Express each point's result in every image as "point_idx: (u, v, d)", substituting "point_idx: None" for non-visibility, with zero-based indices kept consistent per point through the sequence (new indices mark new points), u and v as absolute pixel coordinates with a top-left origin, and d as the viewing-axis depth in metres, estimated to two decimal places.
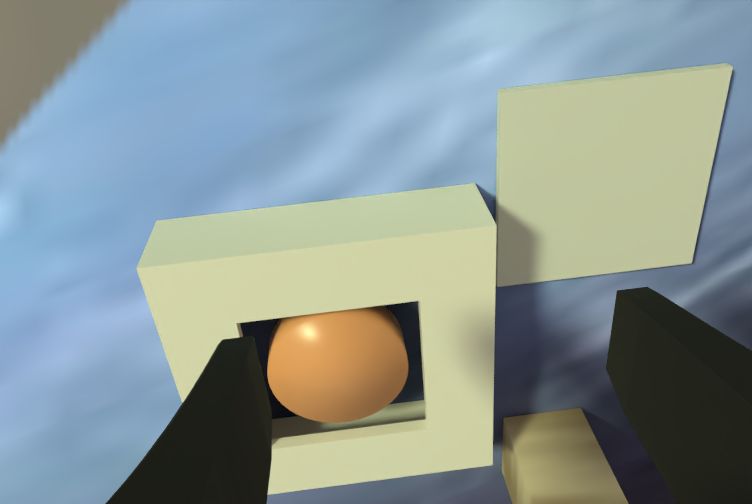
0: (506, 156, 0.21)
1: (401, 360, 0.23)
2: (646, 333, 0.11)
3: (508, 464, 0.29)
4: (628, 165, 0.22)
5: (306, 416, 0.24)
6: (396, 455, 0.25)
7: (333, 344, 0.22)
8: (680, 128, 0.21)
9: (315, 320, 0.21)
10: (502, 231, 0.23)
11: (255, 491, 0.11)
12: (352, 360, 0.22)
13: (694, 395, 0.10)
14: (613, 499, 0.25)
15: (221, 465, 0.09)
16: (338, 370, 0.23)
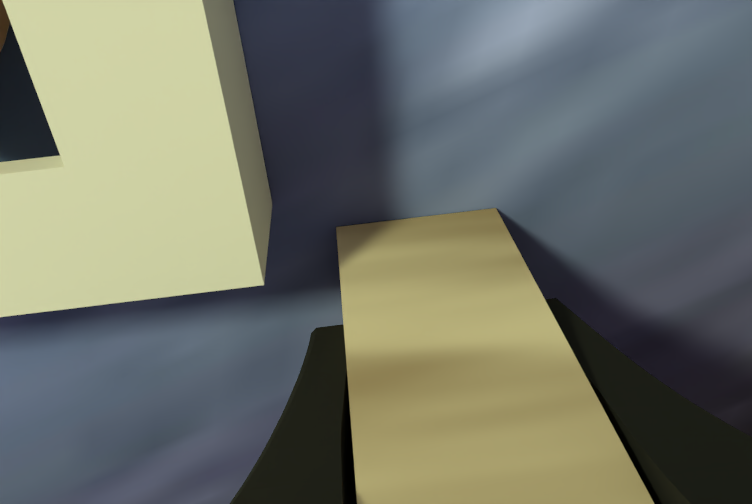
0: None
1: None
2: None
3: None
4: None
5: None
6: (11, 248, 0.10)
7: None
8: None
9: None
10: None
11: None
12: None
13: None
14: (542, 354, 0.10)
15: (343, 449, 0.09)
16: None
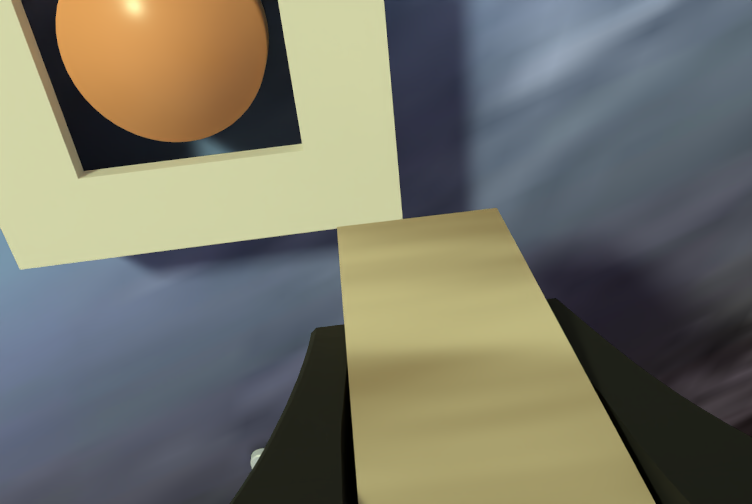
0: None
1: (253, 27, 0.16)
2: None
3: None
4: None
5: (129, 128, 0.17)
6: (265, 197, 0.18)
7: None
8: None
9: None
10: None
11: None
12: (181, 23, 0.16)
13: None
14: (543, 354, 0.10)
15: (343, 449, 0.09)
16: (163, 41, 0.16)
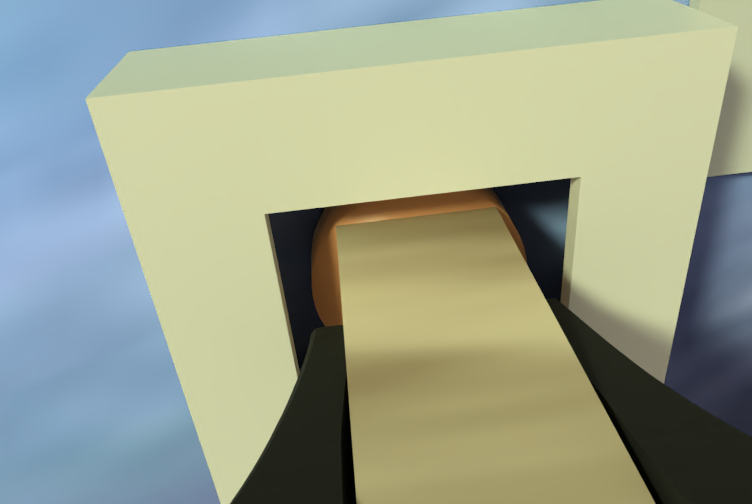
0: None
1: None
2: None
3: None
4: None
5: None
6: None
7: None
8: None
9: None
10: None
11: None
12: None
13: None
14: (542, 353, 0.10)
15: (344, 449, 0.09)
16: None
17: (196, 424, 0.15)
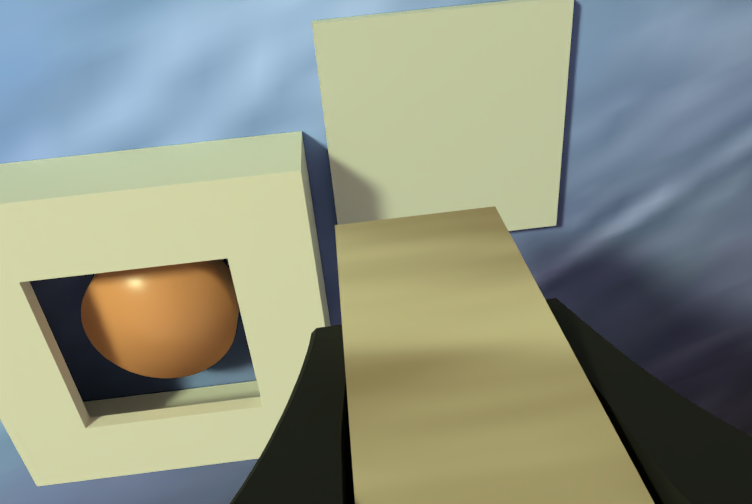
0: (329, 98, 0.19)
1: (226, 309, 0.21)
2: None
3: None
4: (469, 111, 0.20)
5: (133, 370, 0.22)
6: (233, 436, 0.22)
7: (149, 290, 0.21)
8: (523, 68, 0.19)
9: None
10: (337, 186, 0.21)
11: None
12: (173, 308, 0.21)
13: None
14: (541, 352, 0.10)
15: (344, 449, 0.09)
16: (159, 319, 0.21)
17: (1, 419, 0.21)
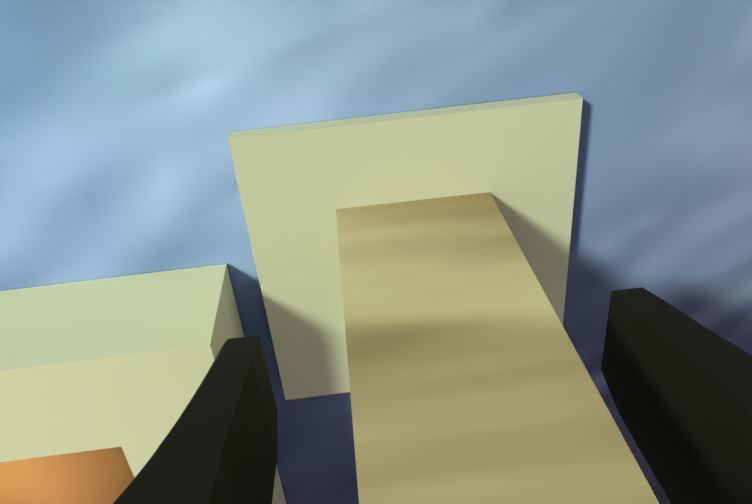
0: (258, 228, 0.14)
1: None
2: (640, 334, 0.11)
3: None
4: None
5: None
6: None
7: (34, 464, 0.16)
8: (515, 187, 0.14)
9: None
10: (276, 329, 0.16)
11: (261, 490, 0.11)
12: (68, 482, 0.16)
13: (688, 396, 0.10)
14: (531, 324, 0.10)
15: (228, 464, 0.09)
16: (52, 494, 0.17)
17: None
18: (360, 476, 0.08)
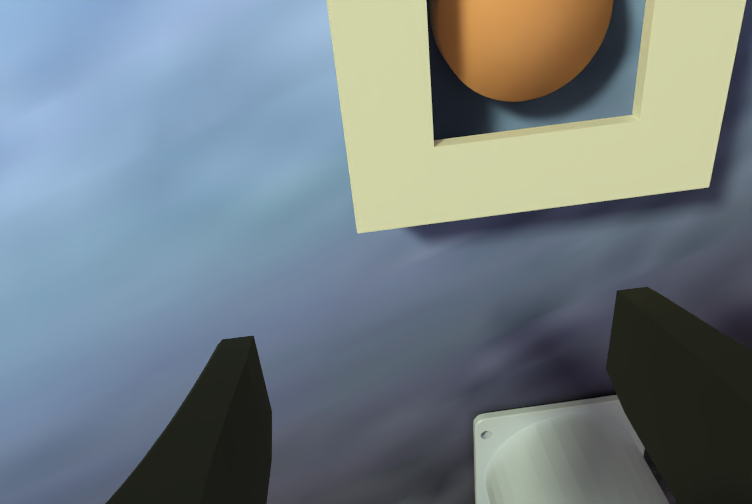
0: None
1: None
2: (646, 333, 0.11)
3: None
4: None
5: (476, 89, 0.19)
6: (593, 165, 0.19)
7: None
8: None
9: None
10: None
11: (255, 491, 0.11)
12: None
13: (694, 395, 0.10)
14: None
15: (221, 465, 0.09)
16: (526, 10, 0.18)
17: (345, 128, 0.18)
18: None
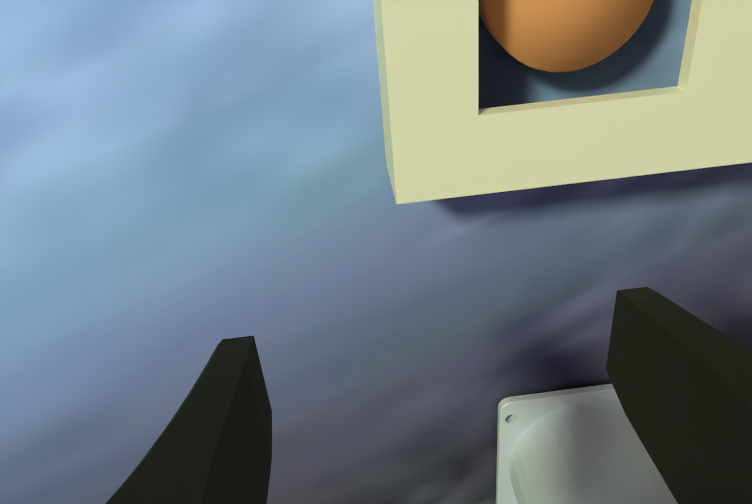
0: None
1: None
2: (646, 333, 0.11)
3: None
4: None
5: (520, 58, 0.19)
6: (637, 137, 0.19)
7: None
8: None
9: None
10: None
11: (255, 491, 0.11)
12: None
13: (694, 395, 0.10)
14: None
15: (221, 466, 0.09)
16: None
17: (390, 94, 0.17)
18: None
